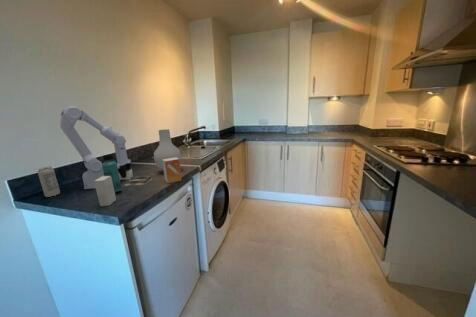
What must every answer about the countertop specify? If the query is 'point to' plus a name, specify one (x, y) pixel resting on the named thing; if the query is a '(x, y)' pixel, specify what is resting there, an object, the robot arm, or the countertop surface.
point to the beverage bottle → (112, 171)
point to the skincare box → (105, 190)
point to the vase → (165, 148)
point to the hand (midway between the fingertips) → (125, 176)
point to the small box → (172, 170)
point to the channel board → (138, 181)
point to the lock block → (127, 174)
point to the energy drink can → (48, 181)
